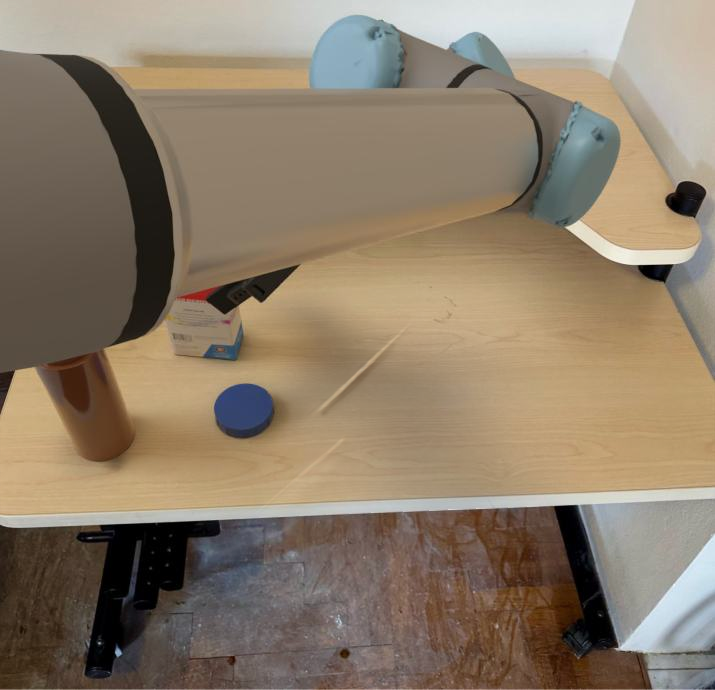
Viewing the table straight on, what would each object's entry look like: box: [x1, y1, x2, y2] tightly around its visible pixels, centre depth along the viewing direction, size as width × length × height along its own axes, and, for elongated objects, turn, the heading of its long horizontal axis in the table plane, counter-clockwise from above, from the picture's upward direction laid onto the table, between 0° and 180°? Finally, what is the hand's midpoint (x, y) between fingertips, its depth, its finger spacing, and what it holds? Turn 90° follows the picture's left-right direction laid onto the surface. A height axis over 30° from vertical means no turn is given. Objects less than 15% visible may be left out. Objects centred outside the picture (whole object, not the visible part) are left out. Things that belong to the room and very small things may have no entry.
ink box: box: [164, 286, 244, 361], centre depth 83 cm, size 8×5×15 cm, turn 84°
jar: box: [34, 348, 136, 462], centre depth 72 cm, size 7×7×17 cm
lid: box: [213, 382, 275, 439], centre depth 81 cm, size 7×7×2 cm
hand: (233, 265), depth 77 cm, fingers open, 13 cm apart
